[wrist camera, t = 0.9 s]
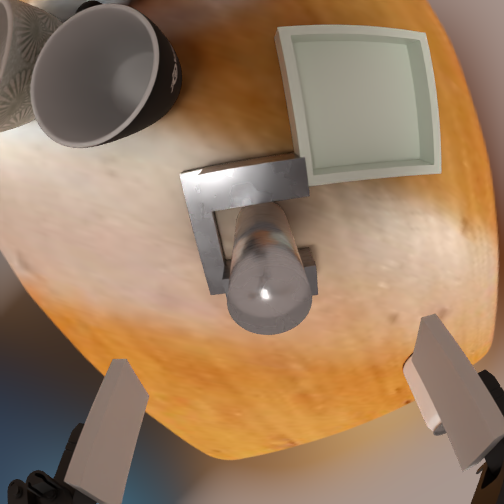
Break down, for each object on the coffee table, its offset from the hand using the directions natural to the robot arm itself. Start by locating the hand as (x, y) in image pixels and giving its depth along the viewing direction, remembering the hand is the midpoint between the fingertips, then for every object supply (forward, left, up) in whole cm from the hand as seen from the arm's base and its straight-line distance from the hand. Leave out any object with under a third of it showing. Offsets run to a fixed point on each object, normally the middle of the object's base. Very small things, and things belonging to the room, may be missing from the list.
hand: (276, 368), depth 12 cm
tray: (-10, +10, -17) cm, 22 cm away
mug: (-16, -8, -17) cm, 25 cm away
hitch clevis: (0, 0, -17) cm, 17 cm away
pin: (0, 0, -17) cm, 17 cm away
